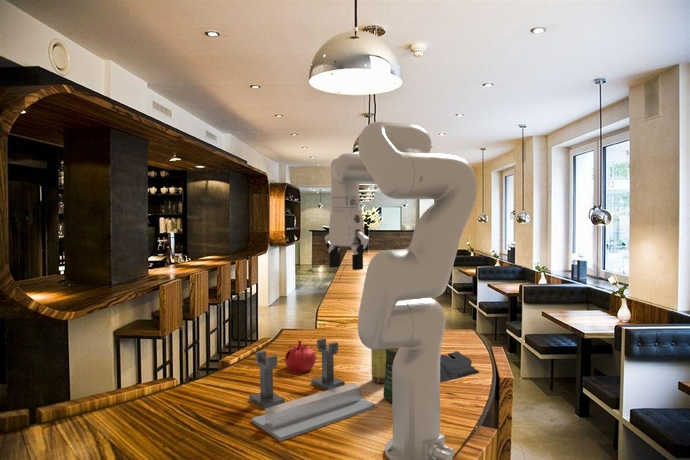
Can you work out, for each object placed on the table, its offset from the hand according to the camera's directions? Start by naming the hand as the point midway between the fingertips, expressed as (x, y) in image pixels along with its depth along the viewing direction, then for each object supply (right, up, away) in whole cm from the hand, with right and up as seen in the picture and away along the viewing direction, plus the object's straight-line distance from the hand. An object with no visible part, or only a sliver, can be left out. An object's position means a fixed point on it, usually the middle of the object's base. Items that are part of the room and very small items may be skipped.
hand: (345, 268), depth 127 cm
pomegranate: (-14, -34, +23) cm, 44 cm away
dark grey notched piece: (+29, -34, +19) cm, 49 cm away
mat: (-7, -35, -12) cm, 37 cm away
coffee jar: (+15, -34, -3) cm, 38 cm away
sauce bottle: (+11, -34, +12) cm, 38 cm away
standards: (-13, -34, +3) cm, 37 cm away
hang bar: (-7, -34, -12) cm, 37 cm away
